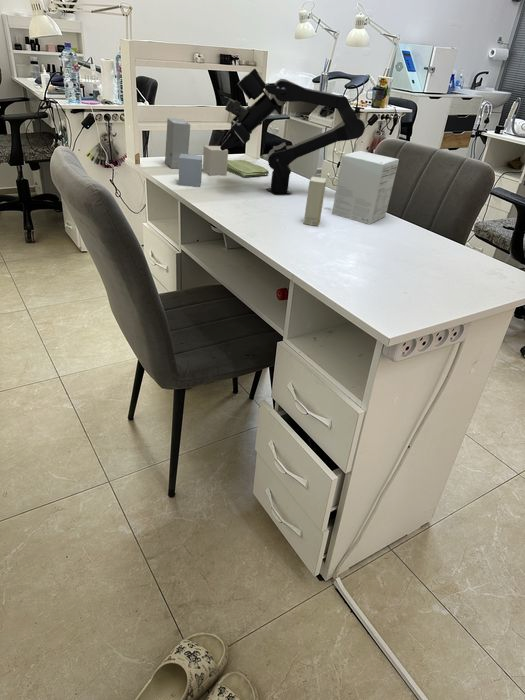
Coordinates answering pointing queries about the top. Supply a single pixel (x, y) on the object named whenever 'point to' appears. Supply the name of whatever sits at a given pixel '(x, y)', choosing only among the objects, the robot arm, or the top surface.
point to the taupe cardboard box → (215, 160)
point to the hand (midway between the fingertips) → (221, 146)
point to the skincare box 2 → (314, 200)
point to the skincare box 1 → (176, 141)
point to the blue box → (190, 170)
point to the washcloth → (245, 168)
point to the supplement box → (364, 186)
